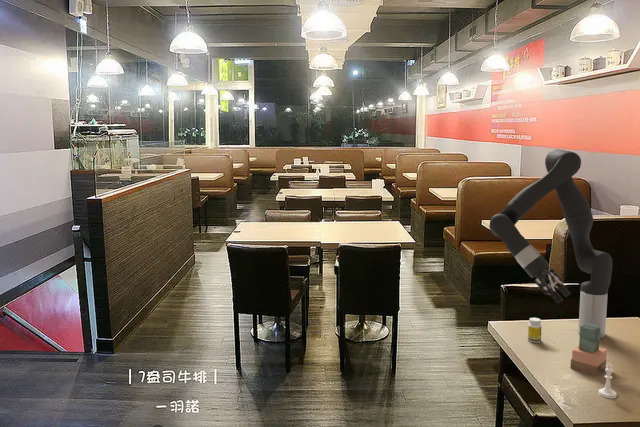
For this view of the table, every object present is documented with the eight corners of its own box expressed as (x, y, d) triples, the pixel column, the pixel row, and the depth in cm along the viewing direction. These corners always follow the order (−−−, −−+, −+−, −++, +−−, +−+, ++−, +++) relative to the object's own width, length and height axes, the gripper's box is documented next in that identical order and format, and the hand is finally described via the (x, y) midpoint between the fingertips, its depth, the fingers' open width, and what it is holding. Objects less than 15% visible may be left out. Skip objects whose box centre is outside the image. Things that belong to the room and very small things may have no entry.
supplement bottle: (542, 343, 203) (543, 321, 202) (528, 342, 204) (529, 321, 203) (539, 338, 208) (540, 317, 207) (526, 337, 209) (527, 316, 208)
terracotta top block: (581, 352, 187) (581, 342, 186) (606, 359, 181) (606, 349, 181) (572, 359, 181) (572, 350, 181) (597, 367, 176) (598, 356, 175)
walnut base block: (581, 362, 188) (581, 352, 187) (605, 369, 181) (606, 359, 181) (570, 369, 182) (570, 359, 182) (594, 376, 176) (595, 366, 176)
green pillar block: (585, 345, 184) (586, 323, 183) (598, 349, 180) (600, 326, 179) (578, 349, 181) (580, 326, 180) (592, 353, 178) (594, 330, 176)
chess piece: (616, 400, 161) (618, 368, 159) (597, 396, 164) (599, 364, 162) (617, 392, 165) (619, 361, 163) (599, 389, 168) (600, 358, 166)
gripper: (532, 258, 182) (567, 297, 177) (546, 250, 193) (579, 287, 187) (516, 271, 186) (549, 310, 181) (530, 263, 197) (562, 299, 192)
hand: (564, 298), depth 184 cm, fingers open, 8 cm apart
